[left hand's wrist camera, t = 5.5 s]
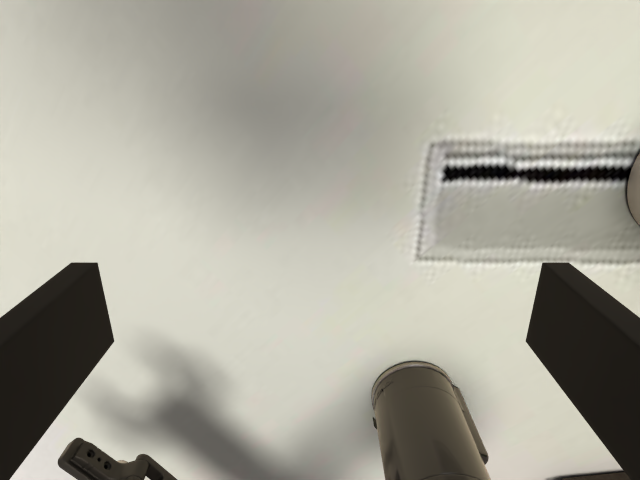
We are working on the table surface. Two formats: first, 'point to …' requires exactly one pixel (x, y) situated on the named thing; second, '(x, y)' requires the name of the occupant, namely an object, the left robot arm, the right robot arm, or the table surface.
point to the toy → (602, 477)
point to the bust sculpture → (634, 190)
